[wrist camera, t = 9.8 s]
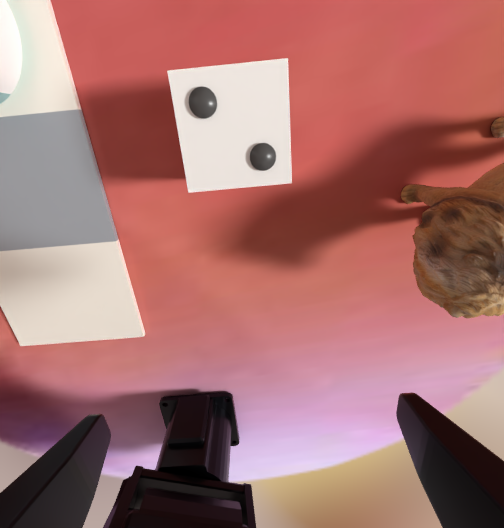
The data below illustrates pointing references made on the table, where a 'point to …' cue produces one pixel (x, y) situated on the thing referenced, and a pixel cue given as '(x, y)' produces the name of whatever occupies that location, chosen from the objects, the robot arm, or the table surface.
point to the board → (55, 205)
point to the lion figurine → (462, 243)
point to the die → (233, 124)
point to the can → (9, 52)
